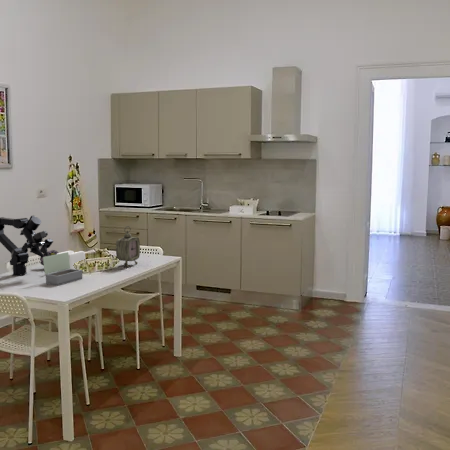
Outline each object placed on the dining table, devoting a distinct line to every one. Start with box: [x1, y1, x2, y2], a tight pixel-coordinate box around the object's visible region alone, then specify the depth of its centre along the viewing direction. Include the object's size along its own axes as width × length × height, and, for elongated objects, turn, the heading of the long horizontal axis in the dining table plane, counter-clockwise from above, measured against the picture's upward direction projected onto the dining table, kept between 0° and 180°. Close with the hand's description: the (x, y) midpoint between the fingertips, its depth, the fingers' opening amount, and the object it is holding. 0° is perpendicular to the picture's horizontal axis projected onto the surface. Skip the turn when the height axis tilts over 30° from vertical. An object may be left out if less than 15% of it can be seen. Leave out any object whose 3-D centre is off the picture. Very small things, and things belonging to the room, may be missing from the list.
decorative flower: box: [39, 249, 60, 267], centre depth 333 cm, size 14×12×15 cm
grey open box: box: [45, 269, 83, 287], centre depth 296 cm, size 9×18×5 cm, turn 150°
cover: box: [43, 251, 70, 275], centre depth 297 cm, size 9×18×1 cm
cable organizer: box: [57, 250, 86, 271], centre depth 323 cm, size 15×11×12 cm
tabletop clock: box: [115, 225, 141, 268], centre depth 338 cm, size 14×9×25 cm, turn 158°
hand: (45, 256), depth 301 cm, fingers open, 3 cm apart
